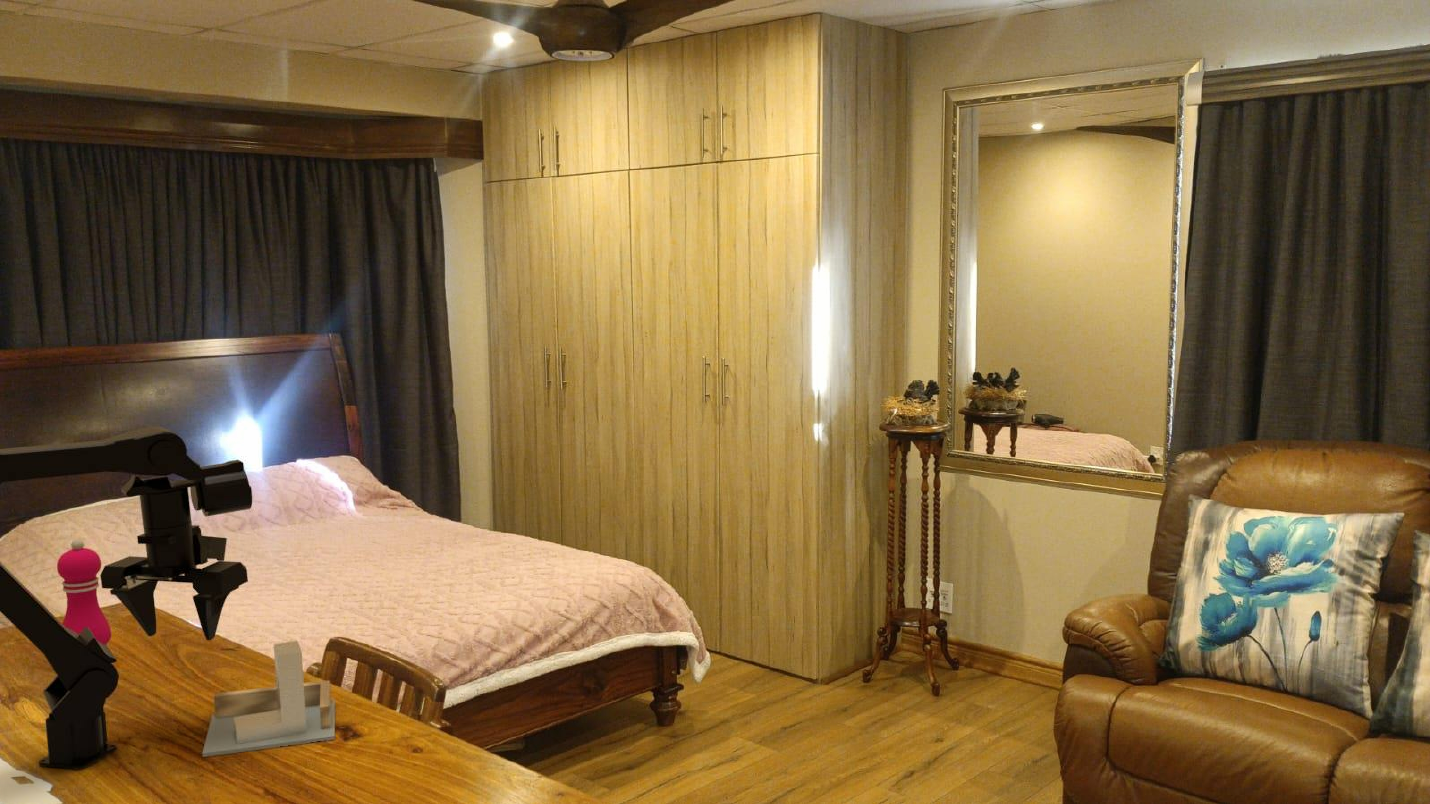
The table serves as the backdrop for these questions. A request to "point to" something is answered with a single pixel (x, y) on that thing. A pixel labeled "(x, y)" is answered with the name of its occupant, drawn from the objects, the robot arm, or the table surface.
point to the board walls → (272, 701)
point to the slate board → (225, 742)
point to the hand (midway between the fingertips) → (181, 637)
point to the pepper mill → (83, 591)
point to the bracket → (279, 701)
